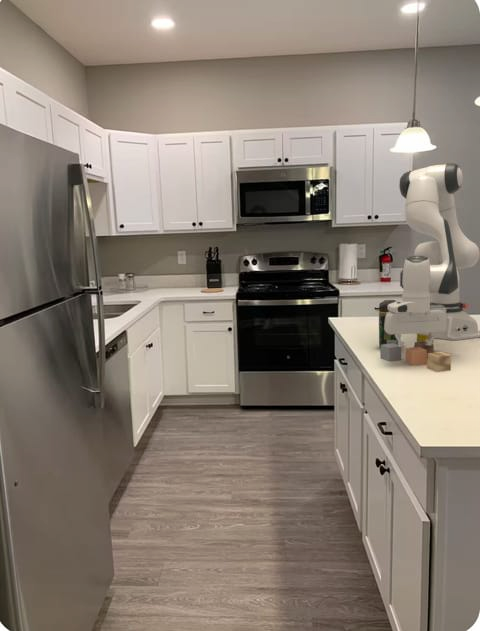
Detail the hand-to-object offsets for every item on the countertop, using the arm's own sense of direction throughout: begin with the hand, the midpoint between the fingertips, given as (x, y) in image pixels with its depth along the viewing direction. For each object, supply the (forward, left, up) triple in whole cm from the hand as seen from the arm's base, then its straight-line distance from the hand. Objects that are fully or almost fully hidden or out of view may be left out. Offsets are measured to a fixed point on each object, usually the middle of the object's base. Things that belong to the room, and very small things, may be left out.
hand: (414, 346), depth 163 cm
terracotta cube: (-1, 0, -6) cm, 6 cm away
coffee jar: (0, -21, -6) cm, 22 cm away
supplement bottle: (-11, -15, -6) cm, 20 cm away
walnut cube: (-7, -7, -6) cm, 12 cm away
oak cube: (-5, +8, -6) cm, 11 cm away
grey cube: (+5, -7, -6) cm, 11 cm away
